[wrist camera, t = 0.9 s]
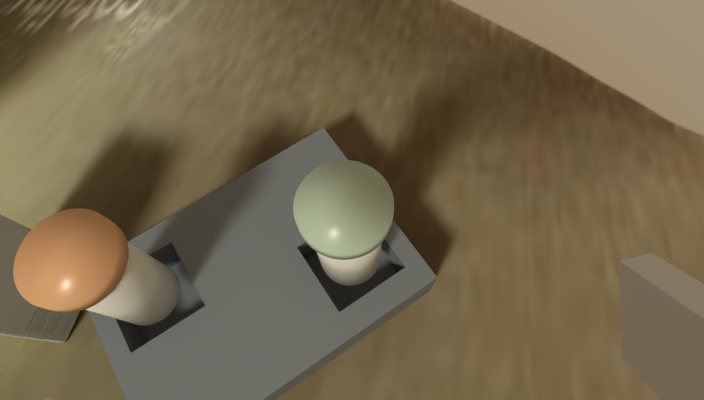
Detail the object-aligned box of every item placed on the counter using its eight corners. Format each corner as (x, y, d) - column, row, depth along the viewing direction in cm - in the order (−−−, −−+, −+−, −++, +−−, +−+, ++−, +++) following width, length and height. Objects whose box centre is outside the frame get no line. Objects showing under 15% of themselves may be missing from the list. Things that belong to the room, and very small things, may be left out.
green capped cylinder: (299, 246, 35) (274, 193, 26) (360, 207, 36) (357, 143, 27) (339, 307, 33) (328, 274, 24) (402, 265, 34) (414, 216, 25)
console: (106, 287, 40) (72, 274, 35) (327, 154, 44) (323, 127, 40) (185, 462, 34) (157, 473, 30) (429, 291, 39) (437, 277, 34)
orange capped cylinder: (100, 283, 34) (-1, 243, 25) (168, 243, 35) (95, 190, 26) (129, 348, 32) (32, 330, 23) (199, 304, 34) (134, 269, 24)
